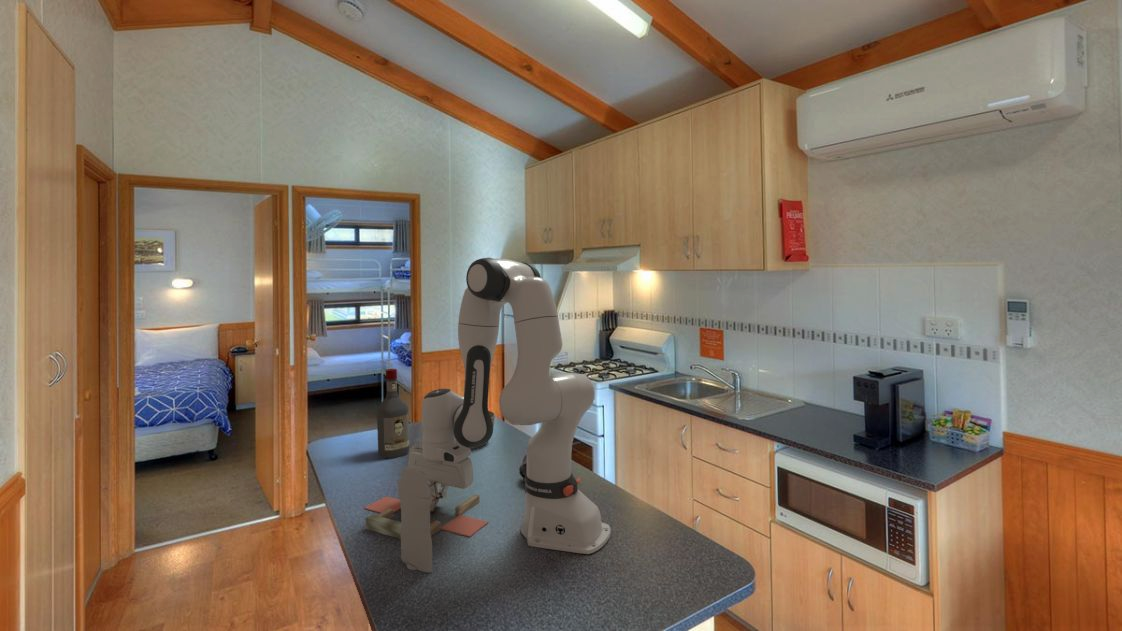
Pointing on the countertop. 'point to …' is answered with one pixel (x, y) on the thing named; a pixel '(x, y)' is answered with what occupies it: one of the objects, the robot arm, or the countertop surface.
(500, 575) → the countertop surface
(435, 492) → the game die
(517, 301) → the robot arm
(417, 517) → the tall pale column
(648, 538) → the countertop surface
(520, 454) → the countertop surface
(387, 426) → the liquor
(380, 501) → the mats
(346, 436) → the countertop surface
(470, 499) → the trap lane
